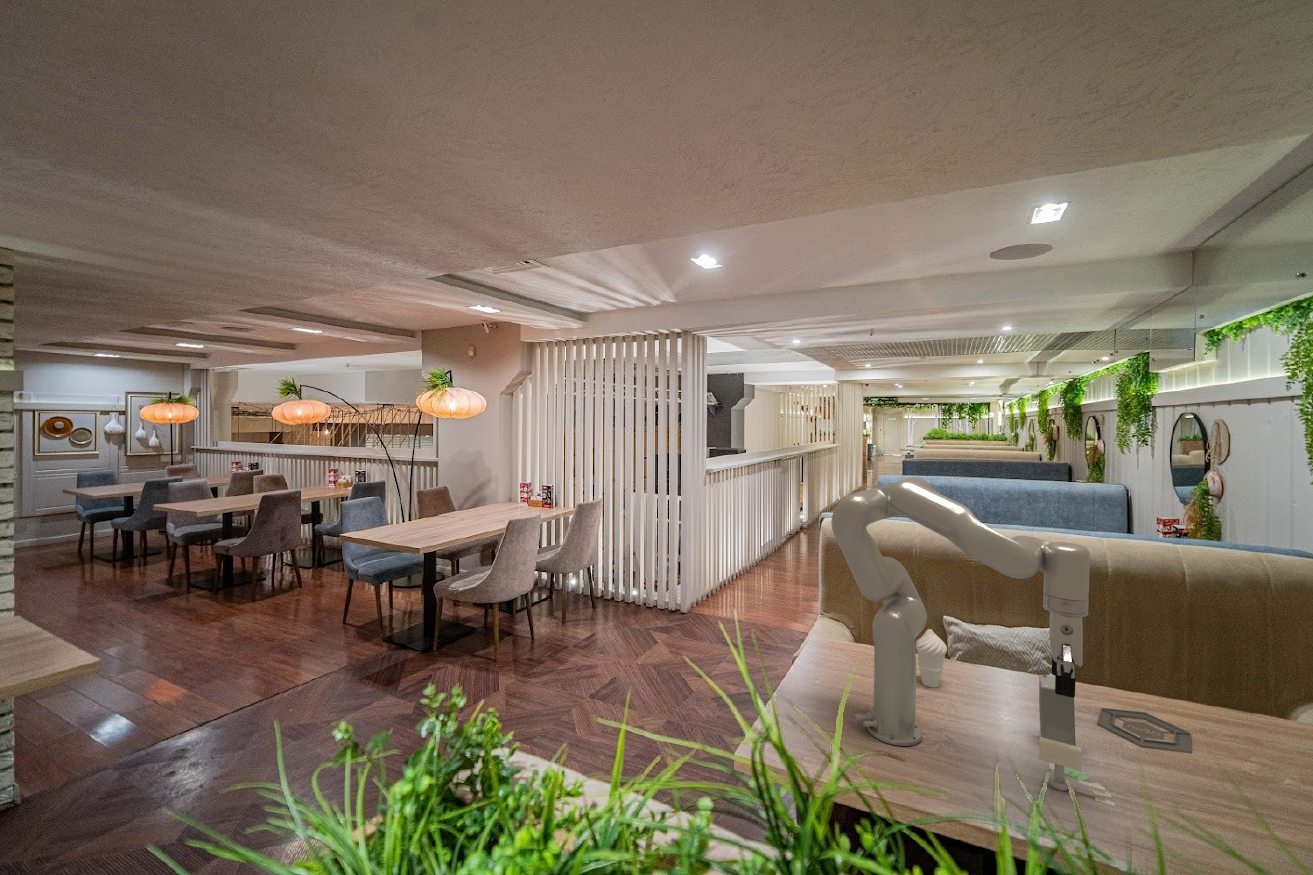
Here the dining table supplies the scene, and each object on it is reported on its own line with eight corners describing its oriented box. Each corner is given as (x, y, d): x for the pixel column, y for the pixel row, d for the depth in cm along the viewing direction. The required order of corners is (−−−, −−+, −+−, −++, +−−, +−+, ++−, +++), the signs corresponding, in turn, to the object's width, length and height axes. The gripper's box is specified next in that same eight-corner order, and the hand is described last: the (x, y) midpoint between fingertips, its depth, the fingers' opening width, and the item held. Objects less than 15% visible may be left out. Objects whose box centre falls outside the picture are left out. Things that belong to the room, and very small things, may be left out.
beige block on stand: (1038, 784, 117) (1039, 742, 116) (1038, 775, 119) (1039, 734, 119) (1105, 804, 111) (1107, 760, 110) (1103, 794, 114) (1105, 752, 113)
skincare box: (1076, 763, 126) (1079, 694, 126) (1038, 753, 130) (1040, 686, 129) (1072, 744, 133) (1075, 679, 133) (1036, 735, 137) (1038, 671, 137)
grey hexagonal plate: (1094, 734, 138) (1094, 730, 138) (1102, 703, 153) (1103, 700, 153) (1191, 764, 127) (1191, 760, 126) (1190, 728, 141) (1190, 724, 141)
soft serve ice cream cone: (951, 691, 159) (953, 635, 158) (922, 691, 159) (923, 635, 158) (937, 677, 167) (938, 624, 167) (909, 677, 167) (910, 624, 167)
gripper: (1093, 620, 106) (1090, 708, 107) (1083, 595, 121) (1080, 673, 121) (1045, 612, 110) (1042, 698, 110) (1041, 589, 124) (1038, 665, 125)
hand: (1062, 685), depth 116 cm, fingers open, 9 cm apart
